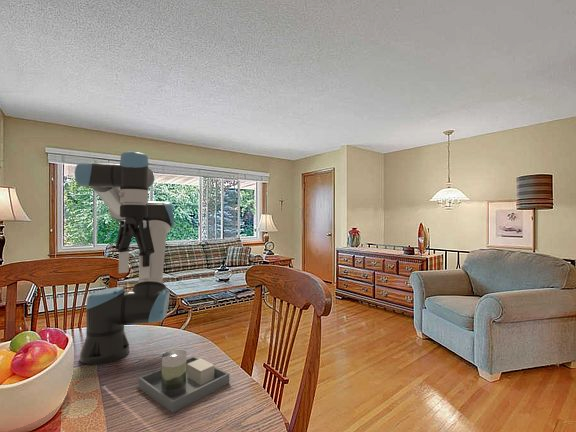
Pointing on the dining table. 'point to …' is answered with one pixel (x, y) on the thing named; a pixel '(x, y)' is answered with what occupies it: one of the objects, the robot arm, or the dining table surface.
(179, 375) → the tin can
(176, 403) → the tray
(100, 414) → the dining table surface
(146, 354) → the dining table surface
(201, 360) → the cream rectangular block
